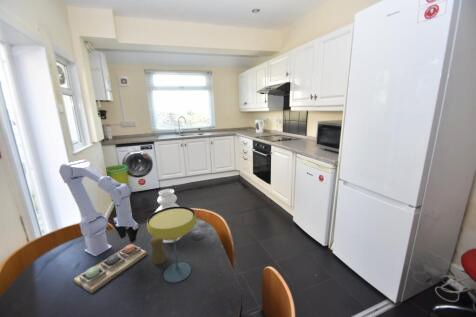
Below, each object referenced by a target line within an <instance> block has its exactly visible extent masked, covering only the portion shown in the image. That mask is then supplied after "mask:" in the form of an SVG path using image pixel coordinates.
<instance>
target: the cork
mask: <svg viewBox="0 0 476 317" xmlns="http://www.w3.org/2000/svg"><path fill="white" fill-rule="evenodd" d="M163 244H164V243H163V239H158V238H155V237H153V236H152V238H151V239H150V246H151V247H152V248H151V262H152V264H153V265H160V264H162V263H165V262H166V260H167V255H166V252H165V249H164V246H163Z"/></svg>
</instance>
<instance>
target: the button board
mask: <svg viewBox="0 0 476 317" xmlns="http://www.w3.org/2000/svg"><path fill="white" fill-rule="evenodd" d="M124 248H125V247H123V248H121V249H120V250H118V251H116V252H115V253H113V254H112V255H115V254H116V255H118V258H119V261H118V262H117V263H115V264H114V265H112V266H108V265H107V262H106V259H107V258H105V259H104V260H102V261H100V262H99V263H97V264H96V265H94V266H97V267H99V272H100V273H99V274H98V275H97V276H95V277H94V278H92V279H87V278H86V274H85V272H86V271H87V270H85V271H84V272H82V273H81V274H79V275H78V276H76V277H74V278H73V280H74V282H75V283H76V284H77V285H79V287H82V288H83V289H84V290H85V291H88V292H89V293H91V294H93V293H95V292H96V291H97V290H98V289H99V288H100V289H101V287H103V286H104V285H106V284H107V283H108V282H110V281H111V280H113V279H114V278H116V277H117V276H118V275H120V274H122V273H123V272H124V271H125V270H127V269H128V268H130V267H131V266H133V265H134V264H135V263H137V262H138V261H140V260H141V259H143V258H144V257H145V256H146V255H147V254H148V252H147V251H146V250H144V249H142V248H141V247H140V246H137V245H135V251H134V252H132V253H131V254H125V251H124Z"/></svg>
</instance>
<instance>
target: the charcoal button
mask: <svg viewBox="0 0 476 317" xmlns="http://www.w3.org/2000/svg"><path fill="white" fill-rule="evenodd" d="M114 254H115V253H114ZM105 259H106V262H107V265H108V266H112V265H114V264H115V263H117V262H118V261H119V258H118V255H116V254H115V255H113V254H111V255H109V256H107V257H106V258H105Z"/></svg>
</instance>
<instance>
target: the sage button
mask: <svg viewBox="0 0 476 317" xmlns="http://www.w3.org/2000/svg"><path fill="white" fill-rule="evenodd" d="M85 271H86V272H85ZM85 271H84V272H85V274H86V278H87V279H92V278H94V277H95V276H97V275H98V274H99V273H100V272H99V267H97V266H95V265H94V266H91V267H90V268H87V269H86V270H85Z"/></svg>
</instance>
